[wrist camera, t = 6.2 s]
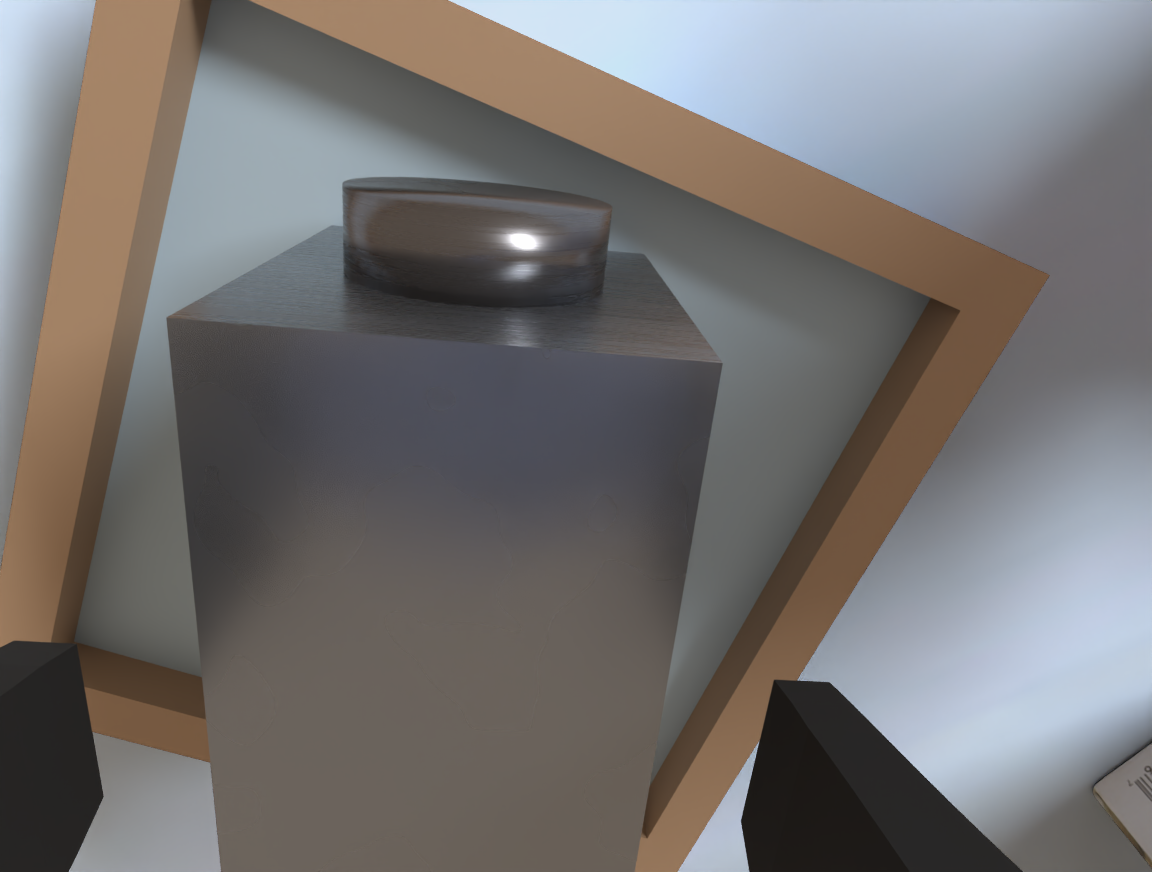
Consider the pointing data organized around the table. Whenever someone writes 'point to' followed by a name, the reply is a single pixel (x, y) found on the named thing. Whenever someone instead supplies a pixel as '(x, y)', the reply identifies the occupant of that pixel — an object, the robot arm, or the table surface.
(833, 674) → the table surface
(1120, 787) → the coffee box
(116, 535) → the square tray
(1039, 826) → the table surface
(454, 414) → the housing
